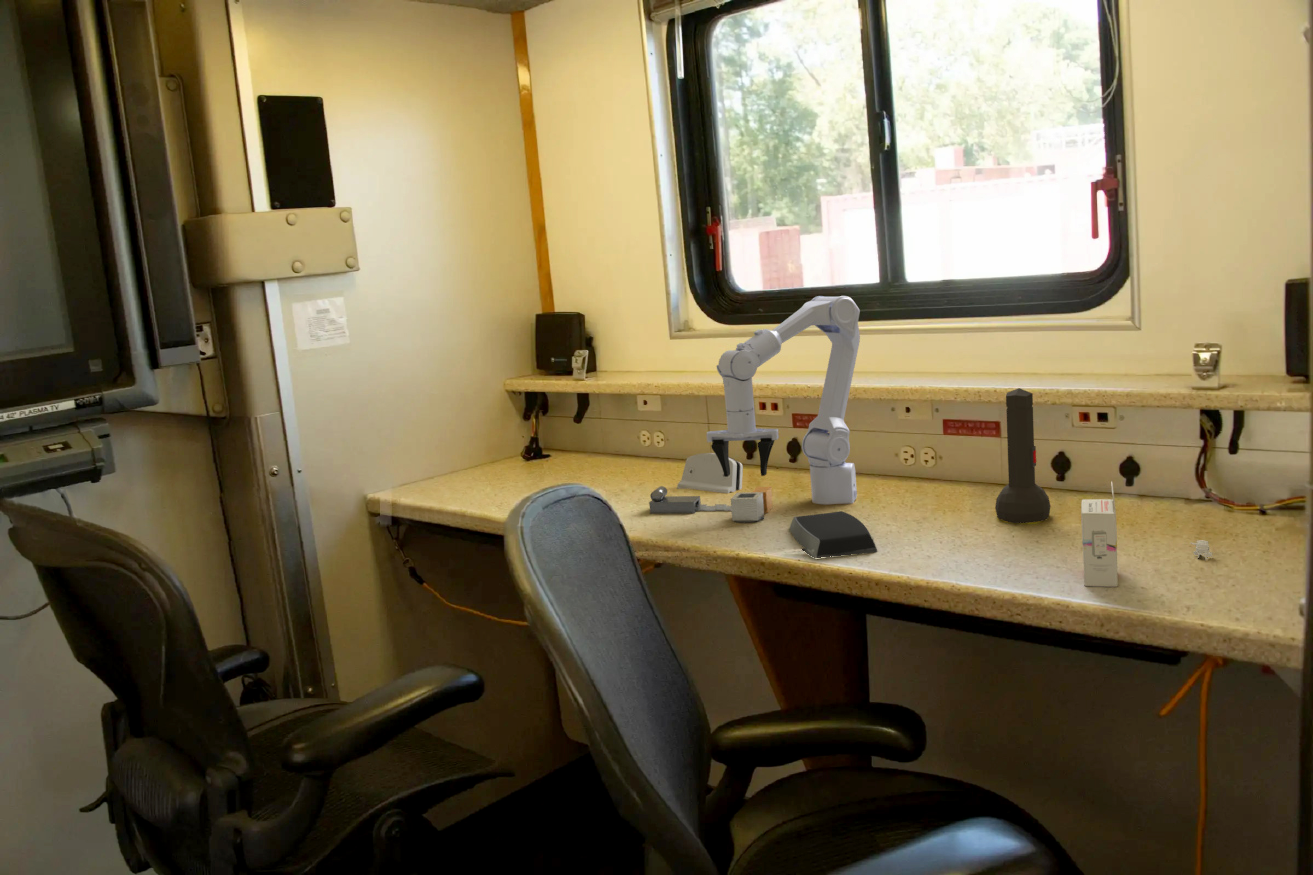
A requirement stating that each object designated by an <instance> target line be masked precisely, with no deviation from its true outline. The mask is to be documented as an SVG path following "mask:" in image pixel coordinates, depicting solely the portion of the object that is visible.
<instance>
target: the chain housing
mask: <svg viewBox="0 0 1313 875" xmlns="http://www.w3.org/2000/svg"><path fill="white" fill-rule="evenodd" d="M667 495H668V489H667V487H665V486H663V485H660V486H659V487H656V489H654V490H653V491H652V492H651V493H650V495H649V496H650V501H649V502H648V504H649V513H650V515H651V514H659V515H660V514H661V515H664V514H665V515H666V514H671V515H673V514H675V515H676V514H677V515H678V514H679V515H680V514H683V515H685V514H689V515H690V514H694V515H695V514H696V512H697V511H696V506H695V505H696V504H702V503H701V496H700V495H694V496H693V495H687V496H686V495H685V496H684V495H683V496H681V495H680V496H679V495H677V496H675V495H674V496H667Z"/></svg>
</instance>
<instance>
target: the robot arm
mask: <svg viewBox="0 0 1313 875" xmlns="http://www.w3.org/2000/svg"><path fill="white" fill-rule="evenodd" d="M860 312H861V310H860V308H859V307H858V305H857V304H856V302H855V301H854V299H852V298H851V297H850V296H847V295H841V296H823V295H818V296H817V295H816V296H815V297H813V298H812V299H811V300H809V301H806V302H805V303H804V304H803V305H802V306H801V307H800V308H799V309H798V310H797V311H795V312H794V313H793V314H791V315H790V316H788V318H786V319H785V320H784V321H783V322H781V323H779V325H777V326H776V327H775V328H773V329H772V330H770V329H767V328H763V329H756V330H755V331H754V332H753V334H754V335H753V336H751V337H750V338H748V339H747V340H746V341H744V342H739V343H738V344H736V347H735V349H734V350H730V349H729V350H726V351H724V352H723V353H722V354H721V356H720V358H719V359H718V364H717V365H716V371H717V373H718V374H719V375H720V376H721V378H722V384H723V390H724V391H723V392H724V401H725V402H724V403H725V411H726V412H725V413H726V424H727V425H726V428H727V429H724V430H722V429H721V430H711V431H710V430H709V431H707V432H706V442H707V443H711V445H710V446H711V449H712V451H713V453H715V454H716V456H717V457H718V459H719V461H720V464H721V466H722V469H723V472H724V476H725V477H728V476H729V475H730V465H729V457H730V455H729V447H730V446H729V442H734V441H735V442H736V441H737V442H738V441H758V442H757V449H758V454H759V464H760V465H759V466H760V476H761V477H765V476H766V475H767V471H768V464H769V459H770V456H771V453H772V452H771V451H772V449H773V446H774V444H775V441H777V440H778V439H779V438H780V437H779V429H778V428H757V427H756V426H757V425H756V413H755V402H754V401H755V400H754V387H753V377H754V376H755V375H756V372H757V369H758V368H759V367H761V366H762V365H763V364H765V363H767V362H768V361H769V360H770V359H772V358H773V357H775V356H776V355H778V354H779V353H780V352H781V350H782V344H783V343H785V342H787V341H789V340H790V339H793V337H795V336H797V335H798V334H800V333H801V332H803V331H804V330H806V329H808V328H809V327H812V326H815V327H816V328H817V329H819V330H820V331H822V332H823V333H824V334H825V335H826V337H827V338H828V339H829V341H830V343H831V349H830V355H829V358H828V364H827V369H826V374H825V379H824V384H823V387H822V394H821V398H820V402H819V407H818V408H819V409H818V414H817V416H816V417H815V418H814V419H813V420H812V421H811V422H810V423H809V424H808V429H807V431H806V433H805V435H804V436H803V438H802V441H801V451H802V453H803V455H804V456H806V458H807V462H808V463H809V474H810V476H809V477H810V489H811V490H810V491H811V501H812V503H813V504H816V505H817V504H818V505H835V504H836V505H839V504H840V505H841V504H842V505H843V504H854V503H855V500H856V499H857V497H858V491H857V476H856V475H857V474H856V473H857V472H856V468H855V467H856V466H855V463H854V462H846V460H847V459H848V457H849V456H850V451H851V444H850V433H851V431H850V429H849V427H848V426H847V424H846V422H845V416H846V410H847V406H848V400H849V396H850V390H851V386H852V381H853V377H854V376H853V375H854V371H855V367H856V361H857V356H858V350H859V347H860V342H861V341H860V340H861V336H860V328H859V318H860Z"/></svg>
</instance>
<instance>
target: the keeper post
mask: <svg viewBox="0 0 1313 875" xmlns="http://www.w3.org/2000/svg"><path fill="white" fill-rule="evenodd" d="M764 519H765V514H763V515H762V517H761V518H760V519H759V520H749V521H733V522H734V523H736V524H737V523H738V524H753V523H754V524H755V523H758V522H762V521H763V520H764Z"/></svg>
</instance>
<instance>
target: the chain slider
mask: <svg viewBox="0 0 1313 875" xmlns="http://www.w3.org/2000/svg"><path fill="white" fill-rule="evenodd" d="M772 491H773V490H772V486H757V487H756V488H755V489H753V491H752V492H763V504H764V514H768V513H769V512H770V511H771V509H772V508H773V506H774V505H773V492H772ZM695 506H696V512H698V511H699V512H701V511H705V512H716V511H725V512H729V511H730V512H732V510H731V505H727V503H726V504H725V503H724V504H721V503H716V504H714V505H708V504H704V503H701V504H696V505H695Z"/></svg>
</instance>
